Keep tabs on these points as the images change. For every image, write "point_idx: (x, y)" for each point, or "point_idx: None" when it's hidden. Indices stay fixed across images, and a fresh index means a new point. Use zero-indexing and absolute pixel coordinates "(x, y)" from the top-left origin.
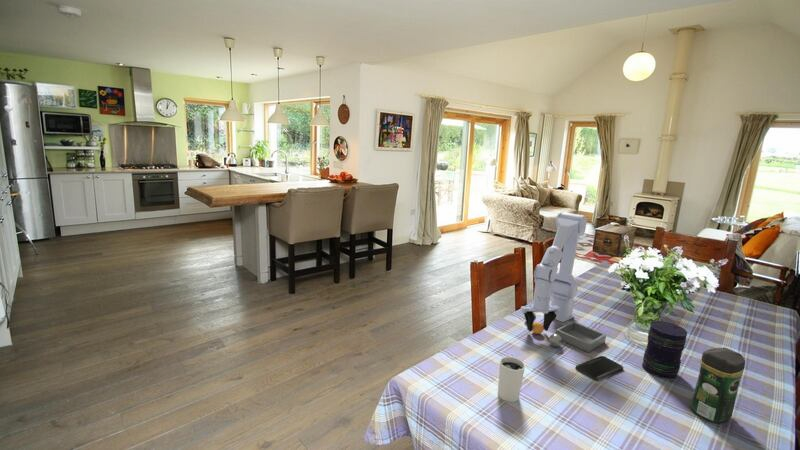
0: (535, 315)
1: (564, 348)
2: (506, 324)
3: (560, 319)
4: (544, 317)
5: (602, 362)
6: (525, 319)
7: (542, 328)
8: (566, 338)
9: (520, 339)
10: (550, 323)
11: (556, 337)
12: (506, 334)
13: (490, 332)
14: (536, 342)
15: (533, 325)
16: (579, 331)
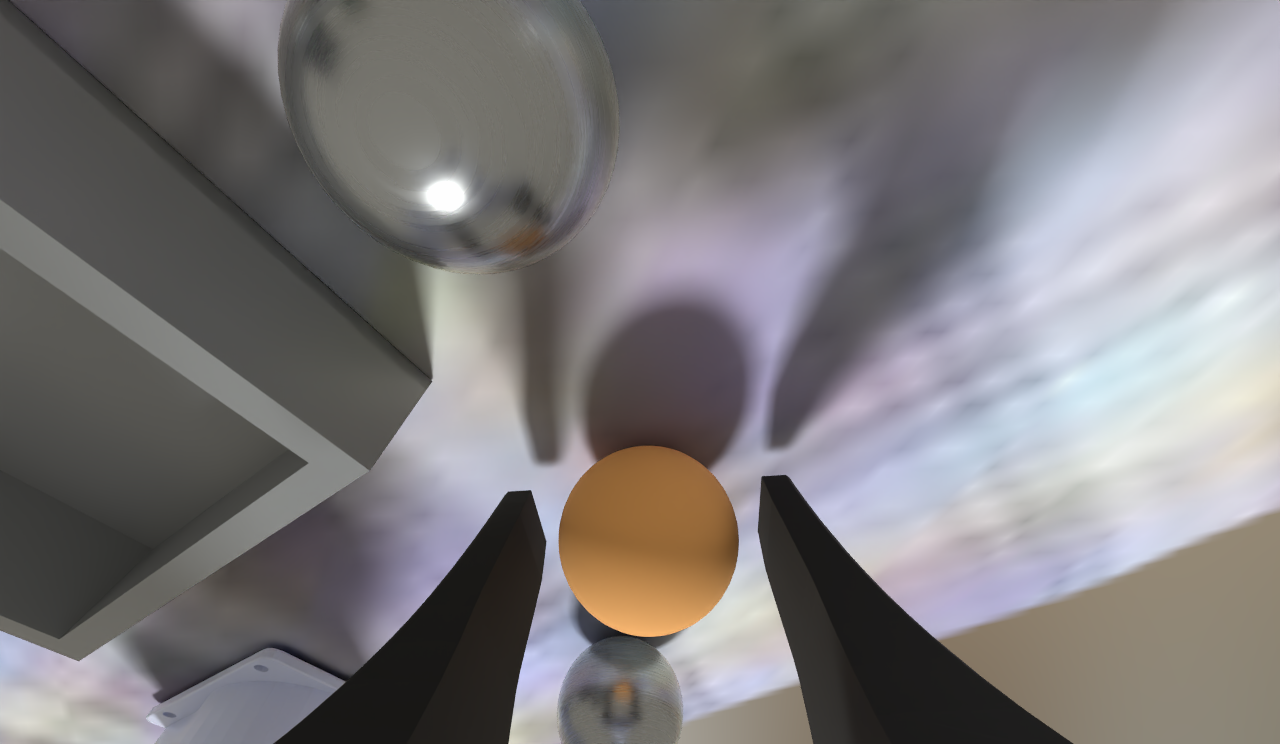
0: (568, 733)
1: None
2: None
3: (285, 678)
4: (504, 729)
5: None
6: (674, 673)
7: (601, 508)
8: (214, 267)
9: (994, 323)
10: (434, 600)
11: (439, 2)
12: (1088, 440)
13: (1261, 476)
14: (788, 239)
15: (731, 567)
16: (55, 506)
